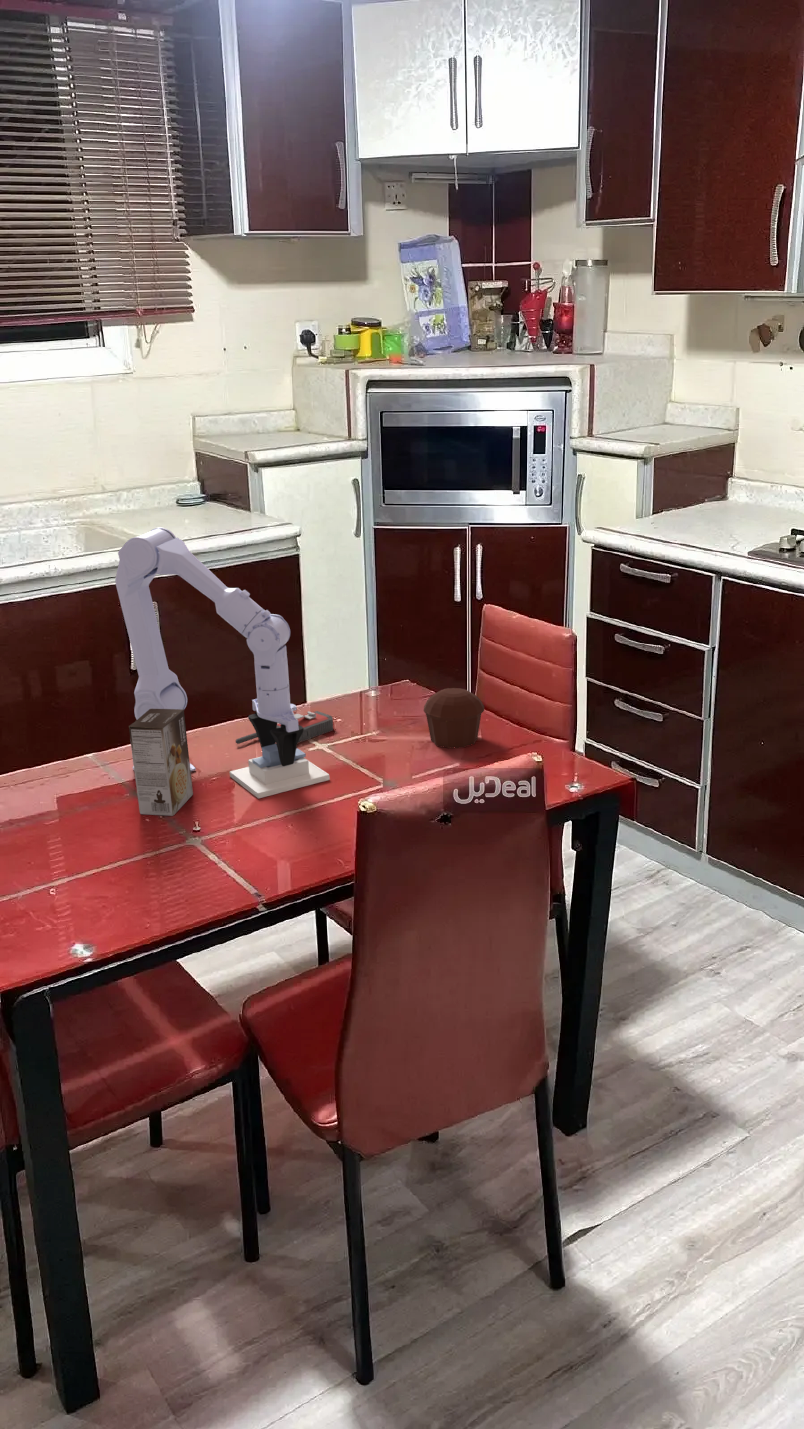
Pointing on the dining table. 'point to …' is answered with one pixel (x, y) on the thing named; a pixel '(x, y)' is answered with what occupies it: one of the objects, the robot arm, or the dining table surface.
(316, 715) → the walkie-talkie
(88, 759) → the dining table surface
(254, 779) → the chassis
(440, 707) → the muffin
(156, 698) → the robot arm
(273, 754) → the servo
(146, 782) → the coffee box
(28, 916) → the dining table surface
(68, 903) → the dining table surface
